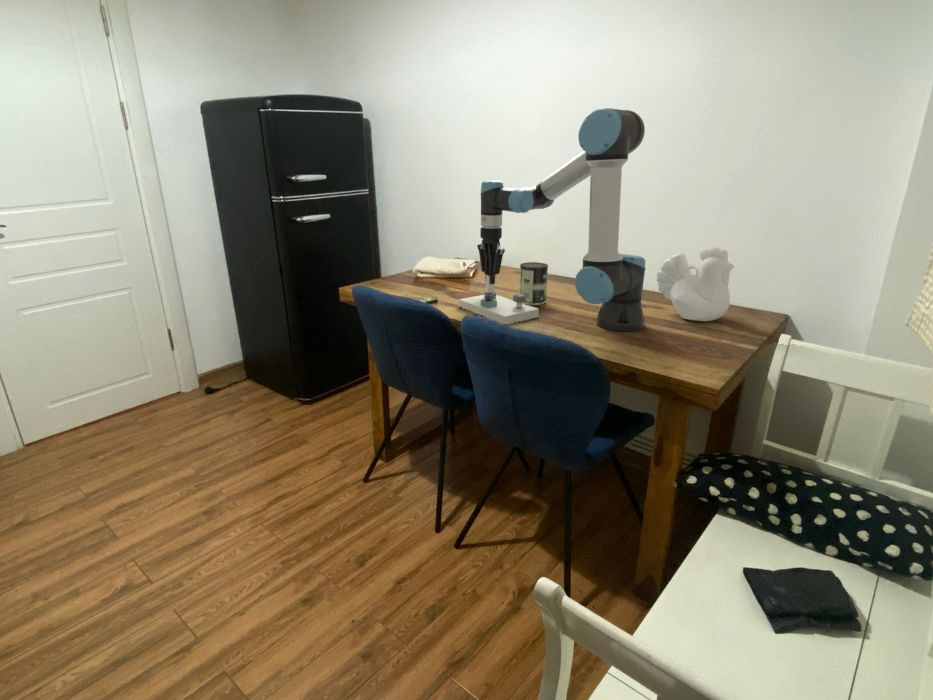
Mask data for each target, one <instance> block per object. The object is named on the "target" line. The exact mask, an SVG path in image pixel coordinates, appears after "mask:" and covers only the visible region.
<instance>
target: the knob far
mask: <svg viewBox="0 0 933 700" xmlns="http://www.w3.org/2000/svg"><path fill="white" fill-rule="evenodd" d="M483 295H484V298H485V296H486V295H492V299H496V295H497V292H496V291H494V292H492V293H486V291H485V292H484V293H483Z"/></svg>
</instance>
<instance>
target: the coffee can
mask: <svg viewBox="0 0 933 700" xmlns="http://www.w3.org/2000/svg"><path fill="white" fill-rule="evenodd" d="M519 267H520V270H519V294H524V295H526V301H525V302H522V303H523V304H527V305H529V306H540V305H544V303H545V304H546V303H547V289H548V287H547V286H548V285H547V284H548V269H549V264H547V263H544V262H536V261H531V262H522V263H520V265H519Z"/></svg>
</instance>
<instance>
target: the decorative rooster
mask: <svg viewBox="0 0 933 700" xmlns="http://www.w3.org/2000/svg"><path fill="white" fill-rule="evenodd" d="M699 257H700V260H701V263H700V266H699V265H697V264H690V265H689V262H688V258H687V256H686V254H684V253H683V252H680V253H679V252H678V253H676V254H673V255H672V256H671V257H670V258H668V259H666V260H665V261H664V262H663V263H662V265H661V266H660V268H659V270H658V272H657V273H656V282H658V283H657V286H658V290H659V293H661V294H663V297H664V298H665V299H666V300H669V301H671V303H672V305H673V307H674V309H675V311H676V313H678V314H679V316H680V317H681V318H682V319H684V320H689V321H699V322H710V321H714V320H718V319H720V318H721V317H723V315H724V314H726V312H727V311H728V309H729V307H730V303H731V299H730V298H731V294H730V290H729V283H730V275H731V270H733V269H734V267H735V265H734V264H732V263H730V262H729V259H728V258H729V252H728V251H727V250H726V249H723V248H722V249H721V248H720V247H717V246H710V247H707V248H706V247H704V248H702V249H701V251H700V252H699ZM692 269H693V270H695V272H696V273H695V274H693V273H692V272H691V270H692Z"/></svg>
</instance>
